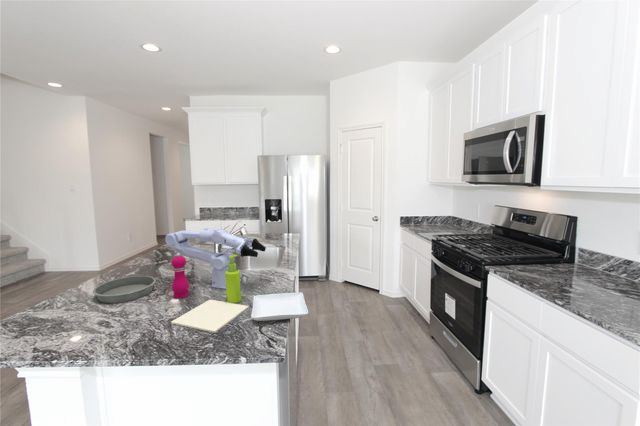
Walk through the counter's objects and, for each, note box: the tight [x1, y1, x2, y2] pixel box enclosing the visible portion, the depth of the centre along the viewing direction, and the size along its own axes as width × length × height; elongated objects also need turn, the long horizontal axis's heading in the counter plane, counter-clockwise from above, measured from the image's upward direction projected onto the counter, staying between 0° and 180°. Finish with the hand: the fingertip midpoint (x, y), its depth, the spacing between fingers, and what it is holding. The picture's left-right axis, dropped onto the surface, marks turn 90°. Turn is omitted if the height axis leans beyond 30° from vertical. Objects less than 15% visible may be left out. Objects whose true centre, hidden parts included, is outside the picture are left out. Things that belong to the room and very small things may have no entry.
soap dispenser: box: [225, 254, 242, 304], centre depth 131 cm, size 6×7×20 cm
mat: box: [170, 299, 250, 334], centre depth 119 cm, size 20×21×1 cm
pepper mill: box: [170, 252, 190, 299], centre depth 136 cm, size 7×7×20 cm
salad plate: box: [250, 291, 309, 322], centre depth 122 cm, size 21×21×3 cm
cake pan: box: [92, 275, 156, 304], centre depth 141 cm, size 25×25×4 cm
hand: (261, 252), depth 141 cm, fingers open, 7 cm apart
